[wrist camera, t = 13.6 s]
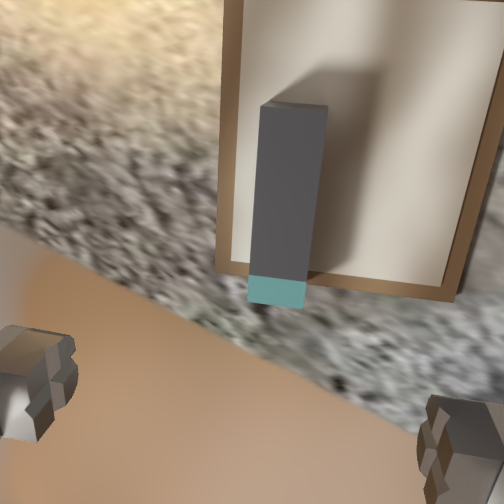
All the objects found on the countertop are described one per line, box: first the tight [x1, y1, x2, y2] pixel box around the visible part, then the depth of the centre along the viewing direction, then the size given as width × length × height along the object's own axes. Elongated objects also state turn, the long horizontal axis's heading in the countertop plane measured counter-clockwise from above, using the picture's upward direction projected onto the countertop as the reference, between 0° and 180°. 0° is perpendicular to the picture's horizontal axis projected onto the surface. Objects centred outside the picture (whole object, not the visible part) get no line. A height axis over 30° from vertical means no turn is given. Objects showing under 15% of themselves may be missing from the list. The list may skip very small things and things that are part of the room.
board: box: [215, 0, 504, 303], centre depth 23 cm, size 14×16×1 cm
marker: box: [247, 101, 328, 309], centre depth 23 cm, size 3×10×3 cm, turn 176°
